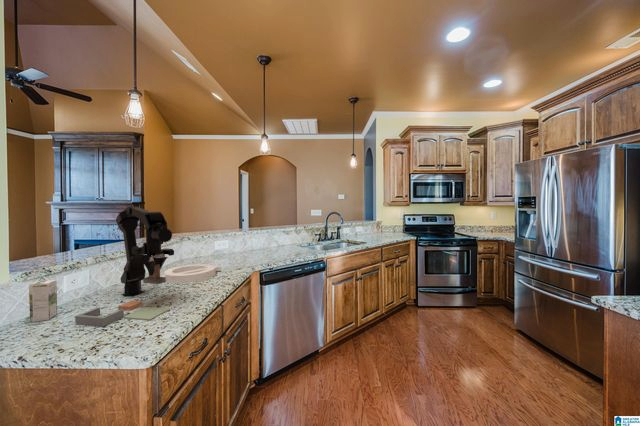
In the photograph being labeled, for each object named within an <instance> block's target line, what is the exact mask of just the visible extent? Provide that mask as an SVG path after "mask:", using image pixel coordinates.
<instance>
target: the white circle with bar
mask: <svg viewBox="0 0 640 426" xmlns="http://www.w3.org/2000/svg"><path fill="white" fill-rule="evenodd" d="M221 270H222V267H221V266H220V265H213V264H208V263H199V264H198V263H195V264H186V265H185V264H184V265H180V266H175V267H171V268H169V269H166V270H164V272H163V275H160V277H166V282H165V283H167V282H168V284H173V283H182V284H191V283H190V282H193V283H197V282H196V281H198V282H202V281H201V280H203V281H206V280H205V279H207V280H209V278H210V279H211V277H212V278H214V277H215V276H216V275H215V274H216V273H217V272H219V271H221ZM213 276H214V277H213Z"/></svg>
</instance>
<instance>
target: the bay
mask: <svg viewBox="0 0 640 426" xmlns="http://www.w3.org/2000/svg"><path fill="white" fill-rule="evenodd" d="M124 311H125V310H124V309H121V310H119V309H118V310H117V311H114V312H111V313H109V314H107V315H105V316H101V308H100V307H95V308H93V309H90V310H88V311H85V312H83V313H80V314H77V315H75V316H74V320H75V322H74V323H75V325H80V326H93V327H106V326H107V325H110V324H112V323H114V322H117V321H119V320H121V319H124V318H123V317H124V316H125V312H124Z"/></svg>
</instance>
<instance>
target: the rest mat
mask: <svg viewBox="0 0 640 426" xmlns="http://www.w3.org/2000/svg"><path fill="white" fill-rule="evenodd" d="M168 311H170V308H165V307H164V308H163V307H152V306H151V307H150V306H144V307H142V308H139V309H137V310H135V311H134V312H131V313H129V314H127V315H124V317H123V318H122V319H129V320H142V321H152V320H154V319H155V318H157V317H160V316H162V315H163V314H165V313H166V312H168Z"/></svg>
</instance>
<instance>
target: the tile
mask: <svg viewBox="0 0 640 426" xmlns="http://www.w3.org/2000/svg"><path fill="white" fill-rule="evenodd" d="M143 304H144V303H143V301H140V300H130V301H126V302H124V303H121V304H119V305H118V310H121V309H124V311H132V309H133V310H135V309H137V308H139V307H141V306H143Z"/></svg>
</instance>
